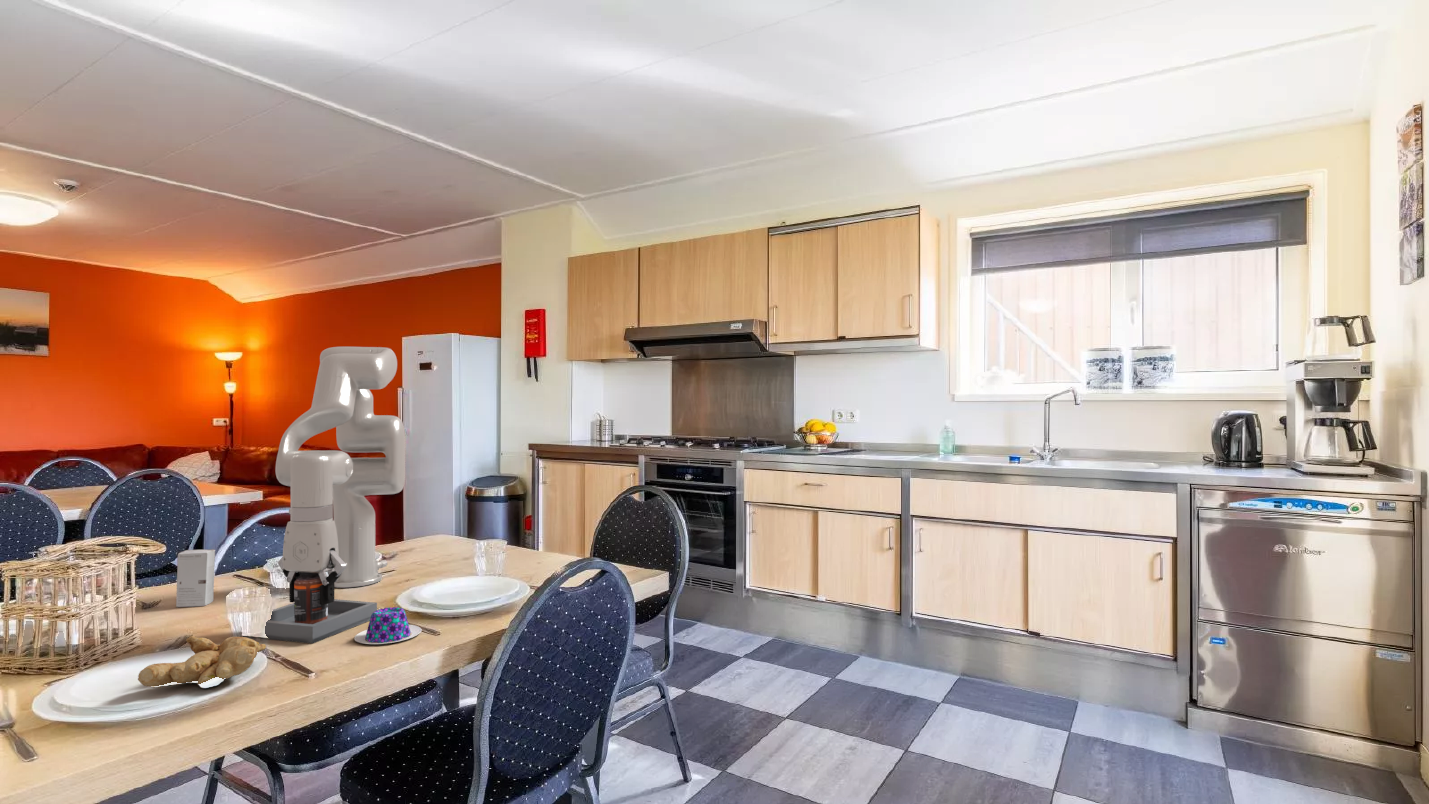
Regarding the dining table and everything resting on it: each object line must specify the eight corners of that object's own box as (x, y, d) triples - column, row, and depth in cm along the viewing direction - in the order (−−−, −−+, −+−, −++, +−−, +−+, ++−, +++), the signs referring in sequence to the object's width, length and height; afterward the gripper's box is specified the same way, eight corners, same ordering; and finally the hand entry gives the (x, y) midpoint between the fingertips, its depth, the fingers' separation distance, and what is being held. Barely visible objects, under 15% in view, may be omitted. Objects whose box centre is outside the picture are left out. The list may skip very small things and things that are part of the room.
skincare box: (175, 608, 160) (175, 553, 160) (185, 602, 164) (185, 549, 164) (206, 606, 161) (206, 552, 161) (215, 600, 165) (215, 548, 165)
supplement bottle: (334, 618, 149) (334, 563, 149) (315, 627, 143) (315, 570, 143) (307, 617, 149) (307, 563, 149) (287, 626, 143) (287, 569, 143)
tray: (311, 612, 156) (311, 597, 156) (376, 617, 152) (376, 602, 152) (241, 636, 140) (241, 619, 140) (312, 643, 135) (312, 626, 135)
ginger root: (293, 652, 127) (285, 611, 125) (236, 710, 111) (226, 665, 110) (205, 655, 127) (196, 615, 125) (136, 714, 111) (124, 669, 109)
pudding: (370, 652, 131) (370, 624, 131) (343, 638, 139) (343, 611, 139) (433, 636, 140) (433, 609, 140) (403, 624, 148) (403, 599, 148)
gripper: (261, 515, 144) (261, 604, 144) (332, 519, 140) (332, 610, 140) (292, 510, 152) (292, 594, 152) (361, 513, 147) (361, 600, 147)
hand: (312, 601), depth 146 cm, fingers open, 6 cm apart
